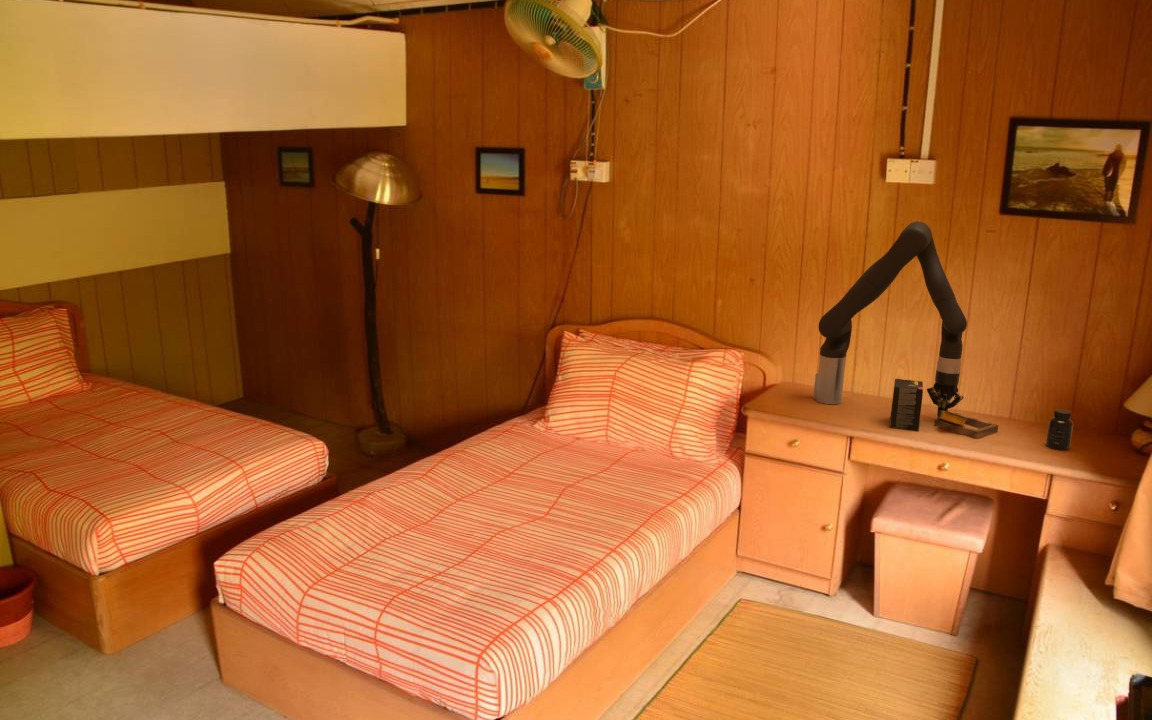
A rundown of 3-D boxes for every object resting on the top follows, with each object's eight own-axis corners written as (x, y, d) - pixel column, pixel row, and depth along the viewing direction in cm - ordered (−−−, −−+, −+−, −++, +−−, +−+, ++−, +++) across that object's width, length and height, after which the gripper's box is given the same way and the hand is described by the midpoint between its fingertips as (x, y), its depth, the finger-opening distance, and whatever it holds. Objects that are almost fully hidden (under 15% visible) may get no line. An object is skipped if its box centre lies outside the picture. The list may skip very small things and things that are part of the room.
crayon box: (936, 418, 312) (942, 418, 301) (939, 410, 312) (945, 409, 301) (958, 426, 311) (965, 426, 299) (961, 417, 311) (968, 417, 299)
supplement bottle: (1048, 441, 297) (1054, 406, 294) (1071, 446, 293) (1077, 410, 290) (1043, 447, 292) (1048, 411, 289) (1066, 452, 288) (1072, 415, 285)
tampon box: (918, 431, 304) (924, 389, 300) (889, 428, 307) (894, 386, 303) (918, 421, 314) (923, 380, 310) (889, 418, 317) (894, 377, 313)
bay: (934, 425, 310) (934, 419, 309) (954, 419, 317) (955, 412, 316) (976, 439, 298) (977, 432, 297) (997, 431, 305) (998, 425, 304)
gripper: (924, 366, 313) (918, 414, 317) (960, 375, 303) (953, 425, 307) (936, 363, 317) (930, 411, 322) (972, 372, 307) (965, 421, 312)
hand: (941, 418), depth 315 cm, fingers closed
